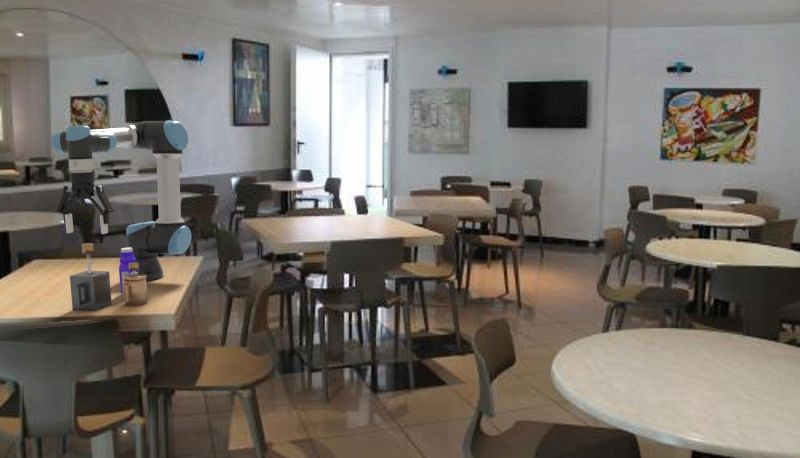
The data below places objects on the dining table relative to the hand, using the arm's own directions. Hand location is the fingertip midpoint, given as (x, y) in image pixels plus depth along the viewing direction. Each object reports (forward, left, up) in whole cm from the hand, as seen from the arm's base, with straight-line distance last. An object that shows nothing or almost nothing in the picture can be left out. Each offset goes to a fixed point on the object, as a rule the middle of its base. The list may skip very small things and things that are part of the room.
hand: (87, 233), depth 243 cm
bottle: (-21, +1, -26) cm, 33 cm away
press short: (-6, +12, -26) cm, 29 cm away
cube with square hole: (+2, 0, -26) cm, 26 cm away
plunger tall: (0, 0, -23) cm, 23 cm away
